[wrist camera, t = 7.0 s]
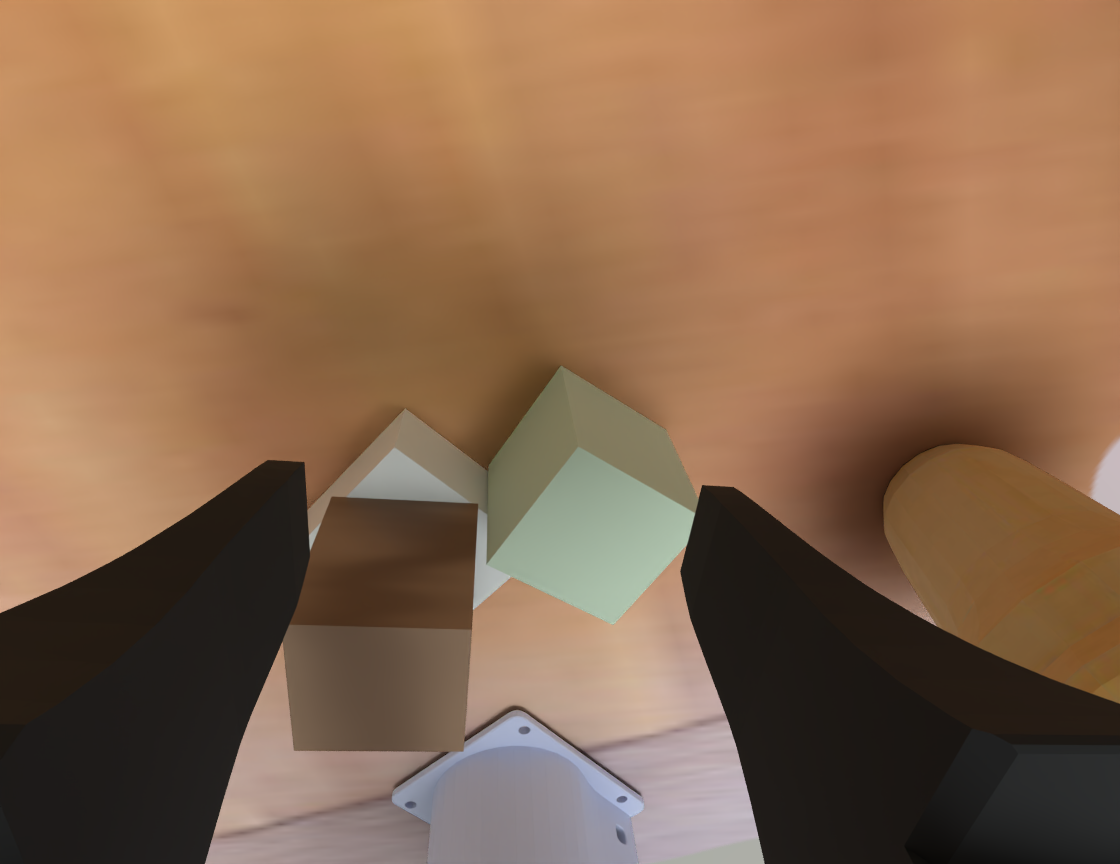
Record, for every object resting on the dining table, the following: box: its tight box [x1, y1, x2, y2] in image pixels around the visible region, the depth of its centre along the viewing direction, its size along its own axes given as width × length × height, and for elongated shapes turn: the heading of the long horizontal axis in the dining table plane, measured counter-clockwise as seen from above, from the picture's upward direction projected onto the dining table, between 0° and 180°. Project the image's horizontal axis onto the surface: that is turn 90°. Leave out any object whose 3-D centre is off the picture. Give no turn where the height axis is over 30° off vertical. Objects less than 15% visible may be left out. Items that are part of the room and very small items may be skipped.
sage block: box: [486, 366, 699, 625], centre depth 22 cm, size 4×4×6 cm
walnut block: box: [283, 496, 478, 752], centre depth 20 cm, size 4×4×6 cm
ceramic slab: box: [307, 409, 511, 610], centre depth 24 cm, size 6×6×3 cm
